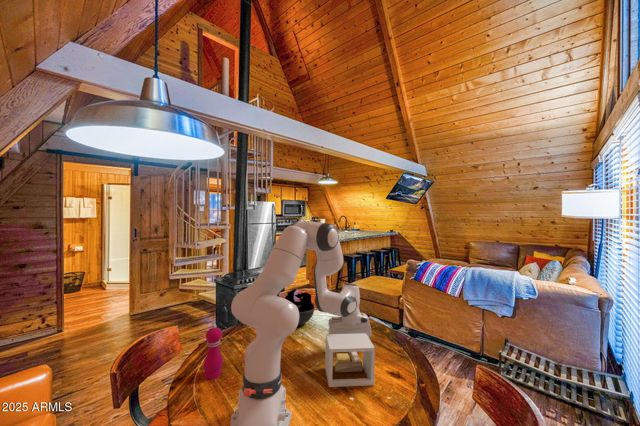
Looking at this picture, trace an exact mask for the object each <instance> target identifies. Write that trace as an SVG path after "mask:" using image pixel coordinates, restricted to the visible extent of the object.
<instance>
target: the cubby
mask: <svg viewBox="0 0 640 426" xmlns="http://www.w3.org/2000/svg"><path fill="white" fill-rule="evenodd" d="M348 352H357V353H359V352H362V369H363V370H364V373H365V375H366V378H344V379H343V378H341V379H340V378H339V379H333V371H334V368H333V367H334V366H333V364H334V361H333V360H334V355H333V354H334V353H348ZM324 353H325V354H324V355H325V356H324V357H325V360H324V361H325V362H324V366H325V367H324V368H325V376H326V379H327V383H328V387H329V388H340V387H360V386H361V387H362V386H363V387H364V386H366V387H367V386H375V362H376V361H375V360H376V359H375V358H376V357H375V356H376V349H375V346H374V344H373V342H372V341H371V338H370V337H368V336H367V334H366V333H361V334H329V333H326V334H325V352H324Z"/></svg>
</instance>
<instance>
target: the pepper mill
mask: <svg viewBox="0 0 640 426" xmlns="http://www.w3.org/2000/svg"><path fill="white" fill-rule="evenodd" d="M222 331H223V330H222V329H221V328H219V327H217V324H212V325H211V328H209V329H208V330H207V331H206V333H205V339H206V346H207V353H206V356H205V358H204V360H203V369H204V378H205V379H206V380H214V379H217V378H219V377H220V376H221V375H222V366H223V363H224V361H223V356H222V354H221V352H220V345H221V338H222V335H223V333H222Z"/></svg>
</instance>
